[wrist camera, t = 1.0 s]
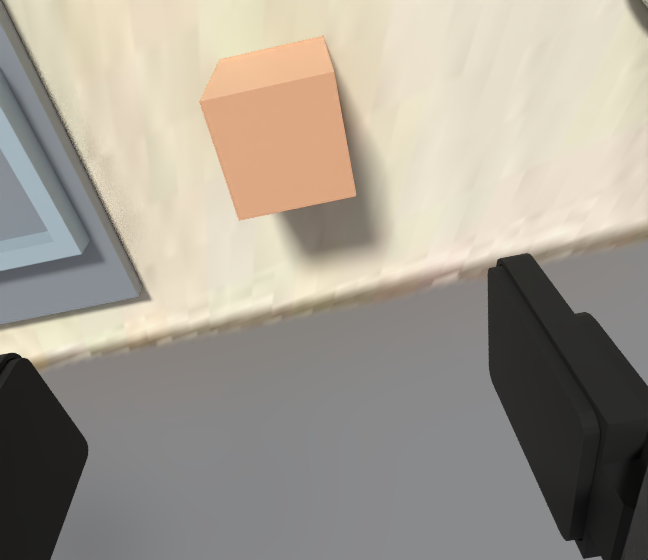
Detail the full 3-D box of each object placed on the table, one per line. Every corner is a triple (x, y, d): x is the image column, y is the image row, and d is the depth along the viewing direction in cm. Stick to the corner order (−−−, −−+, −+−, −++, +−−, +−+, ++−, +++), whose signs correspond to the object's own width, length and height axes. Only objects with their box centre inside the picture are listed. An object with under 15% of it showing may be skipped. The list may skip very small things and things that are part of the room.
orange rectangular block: (323, 35, 24) (334, 71, 19) (341, 137, 27) (356, 195, 22) (219, 59, 25) (199, 101, 19) (248, 157, 28) (239, 220, 22)
